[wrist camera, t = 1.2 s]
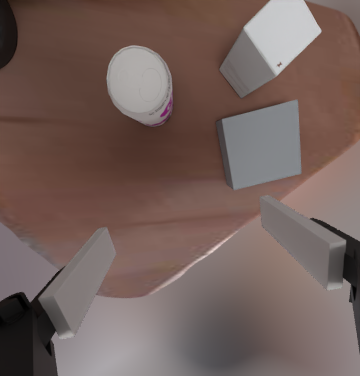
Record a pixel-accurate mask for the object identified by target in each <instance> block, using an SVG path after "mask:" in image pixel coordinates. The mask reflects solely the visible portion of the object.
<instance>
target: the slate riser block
mask: <svg viewBox="0 0 360 376" xmlns="http://www.w3.org/2000/svg"><path fill="white" fill-rule="evenodd" d="M216 125H217V131H218V136H219V142H220V148H221V153H222V159H223V165H224V170H225V176H226V181H227V185H228V186H229V187H231V188H232V189H233V190H236V189H240V188H244V187H248V186H253V185H257V184H261V183H265V182H269V181H273V180H277V179H281V178H285V177H289V176H293V175H297V174H301V155H300V135H299V115H298V100H294V101H290V102H286V103H282V104H279V105H275V106H271V107H267V108H263V109H259V110H256V111H252V112H248V113H244V114H240V115H236V116H233V117H229V118H225V119H221V120H219V121H217V122H216Z"/></svg>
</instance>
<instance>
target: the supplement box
mask: <svg viewBox="0 0 360 376" xmlns="http://www.w3.org/2000/svg"><path fill="white" fill-rule="evenodd" d="M320 33H321V29H320V27H319V26H318V24H317V22H316V21H315V19H314V17H313V16H312V14H311V12H310V10H309V9H308V7H307V5H306V4H305V2H304V0H270V1H269V2H268V3H267V4H266V5H265V6H264V7H263V8H262V9H261V10H260V11H259V12H258V13H257V14H256V15H255V16H254V17H253V18H252V19H251V20H250V21H249V22H248V23H247V24H246V25H245V26H244V27H243V29H242V31H241V33H240V35H239V37H238V38H237V40H236V42H235V43H234V45H233V47H232V48H231V50H230V52H229V53H228V55H227V57H226V58H225V60H224V62H223V63H222V65H221V67H220V69H219V70H220V72H221V73H222V74H223V76H224V77H225V78H226V80H227V81H228V82H229V83H230V85H231V86H232V87H233V89H234V90H235V91H236V93H237V94H238V95H239V96H240V98H243V97H244V96H246V95H247V94H249V93H251V92H252V91H254V90H255V89H257V88H259V87H260V86H262V85H263V84H265V83H267V82H268V81H270V80H271V79H273V78H275V77H276V76H277V75H278V74H279V73H280V72H281V71H282V70H283V69H284V68H285V67H286V66H287V65H288V64H289V63H290V62H291V61H292V60H293V59H294V58H295V57H296V56H298V55H299V54H300V53H301V52H302V51H303V50H304V49H305V48H306V47H307V46H308V45H309V44H310V43H311V42H312V41H313V40H314V39H315V38H316V37H317V36H318V35H319V34H320Z"/></svg>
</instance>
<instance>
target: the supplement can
mask: <svg viewBox="0 0 360 376" xmlns="http://www.w3.org/2000/svg"><path fill="white" fill-rule="evenodd" d="M106 81H107V87H108V93H109V95H110V97H111V99H112V101H113V103H114V105H115V106H116V107H117V108H118V109H119V110H120V111H121V112H122V113H123V114H125V115H127V116H129V117H131V118H133V119H135V120H137V121H139V122H141V123H143V124H144V125H146V126H151V127H156V126H160V125H162V124H164V123H165V122H166V121H167V120H168V119H169V117H170V116H171V113H172V110H173V92H172V76H171V74H170V71H169V69H168V66H167V64H166V63H165V62H164V60H163V59H162V58H161V57H160V56H159V54H157V53H156V52H154V51H152V50H150V49H149V48H146V47H141V46H134V45H132V46H129V47H125V48H122V49H121V50H120V51H119V52H117V53H116V54H115V55H114V56H113V58H112V60H111V62H110V64H109V66H108V72H107V80H106Z"/></svg>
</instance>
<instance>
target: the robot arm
mask: <svg viewBox="0 0 360 376" xmlns="http://www.w3.org/2000/svg"><path fill="white" fill-rule="evenodd" d="M16 42H17V30H16V23H15V19H14V16H13V13H12V10H11V8H10V6H9V4H8V2H7V1H6V0H0V68H1V67H3V66H4V65H5V64H7V63H8V61H9V60H10V59H11V57H12V55H13V53H14V51H15V47H16ZM260 209H261V222H262V227H263V228H264V229H265V230H266V231H267V232H268V233H269V234H270V235H271V236H272V237H273V238H274V239H276V241H277V242H278V243H280V245H281V246H283V247H284V248H285V249H286V250H287V251H288V252H289V253H290V254H291V255H292V256H293V257H294V258H295V259H296V260H297V261H298V262H299V263H300V264H301V265H302V266H303V267H304V268H305V269H306V270H307V271H308V272H309V273H310V274H311V275H312V276H313V277H314V278H315V279H316V280H317V281H318V282H319V283H320V284H321V285H322V286H323V287H324V288H325V289H326V290H332V289H338V288H342V286H343V278H344V279H346V280H347V281H348V282H349V283H350V284H351V290H350V299H349V302H351V303H353V311H354V318H355V324H356V331H357V338H358V345H359V352H360V241H358V240H356V239H354V238H352V237H350V236H349V235H347V234H345V233H343V232H341V231H340V230H337V229H336V228H334V227H332V226H330V225H329V224H327V223H325V222H323V221H321V220H317V219H314V218H311V219H309V218H307V217H305V216H304V215H302V214H300V213H298V212H297V211H295V210H293V209H292V208H290V207H288V206H287V205H285V204H283V203H281V202H280V201H278V200H276V199H275V198H273V197H271V196H269V195H267V196H261V197H260ZM115 256H116V252H115V249H114V246H113V243H112V240H111V237H110V235H109V232H108V229H107V227H103V228H98V229H97V230H96V232H95V233H94V234H93V235H92V236H91V237H90V239H89V240H88V241H87V242H86V243H85V244H84V246H83V247H82V248H81V249H80V250H79V251H78V253H77V254H76V255H75V256H74V257H73V258H72V260H71V261H70V262H69V263H68V264H67V265H66V266H65V267H63V268H62V269H61V270H60V271H58V272H57V273H56V274H55V276H54V277H53V278H52V279H51V280H50V281H49V282H48V283H47V285H46V286H45V287H44V288H43V289H42V290H41V291H40V292H39V293H38V295H37V296H36V297H35V298H34V299H33V300H32V302H31V303H30V302H29V301H28V299H27V297H26V295H25V294H24V293H23V292H19V293H16V294H13V295H11V296H9V297H7V298H5V299H4V300H2V301H1V302H0V376H58V375H57V366H56V359H55V352H54V344H53V342H52V341H51V338H52V336H53V335H54V333H55V331H56V332H57V334H58V336H59V337H60V339H64V338H69V337H74V336H75V335H76V333H77V330H78V329H79V327H80V325H81V323H82V321H83V319H84V317H85V315H86V313H87V311H88V309H89V307H90V305H91V303H92V301H93V299H94V297H95V295H96V293H97V291H98V289H99V287H100V285H101V283H102V281H103V279H104V277H105V275H106V273H107V271H108V269H109V268H110V266H111V264H112V262H113V260H114V258H115Z"/></svg>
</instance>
